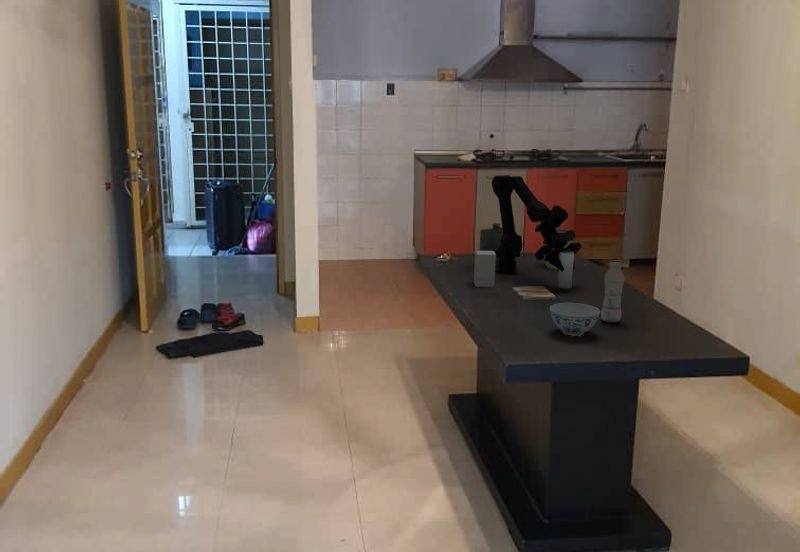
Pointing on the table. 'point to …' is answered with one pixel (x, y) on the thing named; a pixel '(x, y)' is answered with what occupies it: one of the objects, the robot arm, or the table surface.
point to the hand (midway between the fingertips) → (568, 270)
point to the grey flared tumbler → (566, 269)
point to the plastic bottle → (613, 292)
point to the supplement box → (484, 268)
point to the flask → (491, 239)
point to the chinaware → (574, 317)
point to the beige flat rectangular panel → (534, 293)
